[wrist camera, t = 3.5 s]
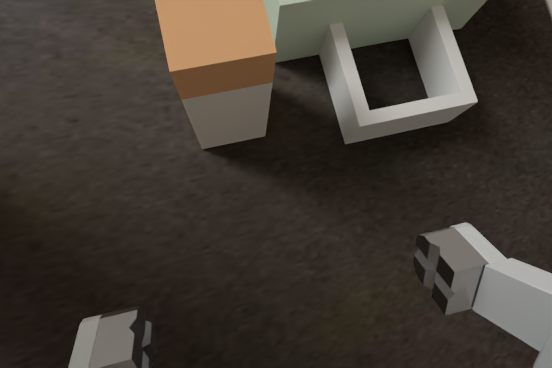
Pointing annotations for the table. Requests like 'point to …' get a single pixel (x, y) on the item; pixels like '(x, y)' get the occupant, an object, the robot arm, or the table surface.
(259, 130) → the two-tone orange block
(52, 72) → the table surface
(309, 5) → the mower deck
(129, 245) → the table surface
